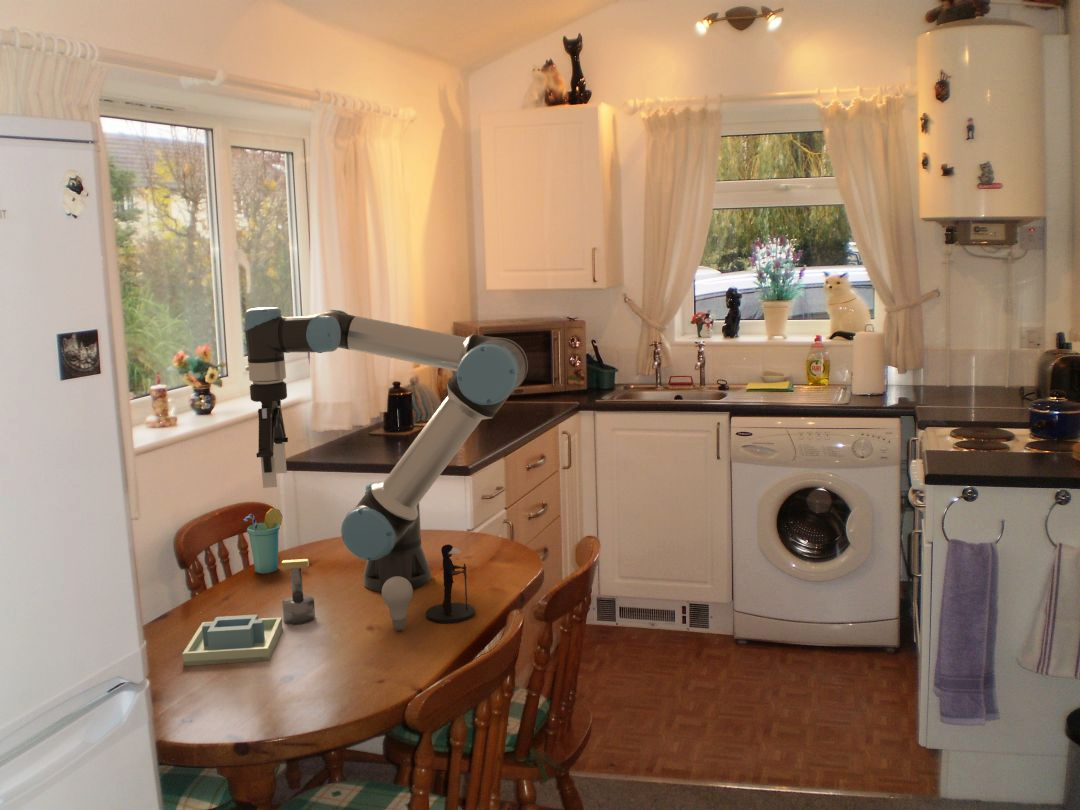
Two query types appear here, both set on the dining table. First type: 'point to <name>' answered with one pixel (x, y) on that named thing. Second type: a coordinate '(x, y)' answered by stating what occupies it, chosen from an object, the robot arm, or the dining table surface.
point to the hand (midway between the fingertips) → (275, 479)
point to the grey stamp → (297, 596)
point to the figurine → (448, 610)
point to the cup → (265, 541)
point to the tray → (259, 652)
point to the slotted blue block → (233, 632)
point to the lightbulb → (397, 599)
